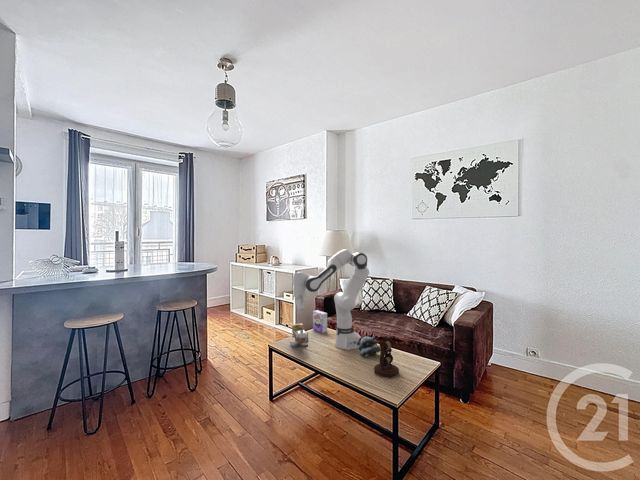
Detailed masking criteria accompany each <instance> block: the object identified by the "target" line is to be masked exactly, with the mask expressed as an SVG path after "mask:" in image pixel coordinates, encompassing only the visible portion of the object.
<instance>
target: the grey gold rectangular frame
mask: <svg viewBox="0 0 640 480" xmlns="http://www.w3.org/2000/svg"><path fill="white" fill-rule="evenodd" d="M291 329H292V330H291V332H292V338H294V341H290V342H289V344H290V346H291V349H298V348H308V347H309V344H308V343H310V341H309V332H306V338H303V339H299V338H298V331H300V330H303V331H304V324H303V323H301V322H300V323H292V324H291Z"/></svg>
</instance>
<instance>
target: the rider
mask: <svg viewBox="0 0 640 480" xmlns="http://www.w3.org/2000/svg"><path fill="white" fill-rule="evenodd" d="M306 334H307V332H306V331H305V330H304V331H303V330H300V331H298V338H299V339H303V338H306Z"/></svg>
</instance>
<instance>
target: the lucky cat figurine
mask: <svg viewBox="0 0 640 480" xmlns="http://www.w3.org/2000/svg"><path fill="white" fill-rule="evenodd" d="M356 344H357V346H358V348H357V349H358V351H359V355H360V356H361V357H362V358H366V357H369V356H372V355H375V354H377V353H380V350H381V348H380V345H379V344H378V342H377V340H376V337H375V336H372V335H371V334H368V335H367V336H363V337H361V338H359V341H358V342H357V343H356Z"/></svg>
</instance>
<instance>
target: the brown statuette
mask: <svg viewBox="0 0 640 480" xmlns="http://www.w3.org/2000/svg"><path fill="white" fill-rule="evenodd" d="M378 346H379V347H380V352H379V363H376V364H375V365H374V367H373V370H374V373H375V374H378V375H380V376H385V377H389V379H391V378H392V377H394V376H397V375H399V373H400V368H399V367H398V366H397V365H395V364H393V363H392V362H393V361H394V357H393V355H392V351H393V350H392V349H393V348H392V347H393V346H394V341H393V340H392V339H391V338H389V337H387V338H385V339H384V340H382V341H380V342H379V344H378Z"/></svg>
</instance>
